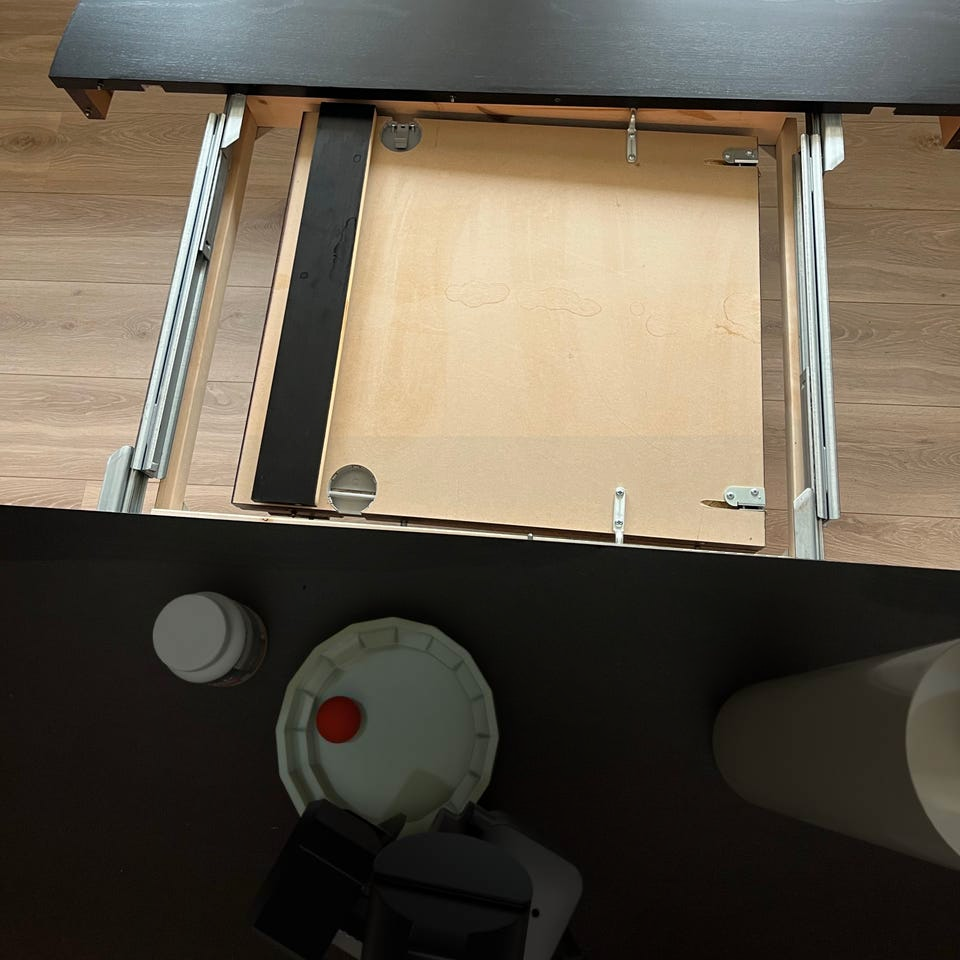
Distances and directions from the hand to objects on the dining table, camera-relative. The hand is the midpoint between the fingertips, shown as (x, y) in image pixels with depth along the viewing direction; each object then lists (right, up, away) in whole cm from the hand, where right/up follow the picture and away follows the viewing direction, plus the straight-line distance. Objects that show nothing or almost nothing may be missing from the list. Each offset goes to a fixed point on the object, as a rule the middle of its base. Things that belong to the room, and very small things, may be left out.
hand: (474, 867), depth 56 cm
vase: (+20, 0, +15) cm, 25 cm away
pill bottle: (-17, +6, +19) cm, 27 cm away
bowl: (-6, +1, +17) cm, 17 cm away
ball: (-9, +2, +15) cm, 18 cm away
